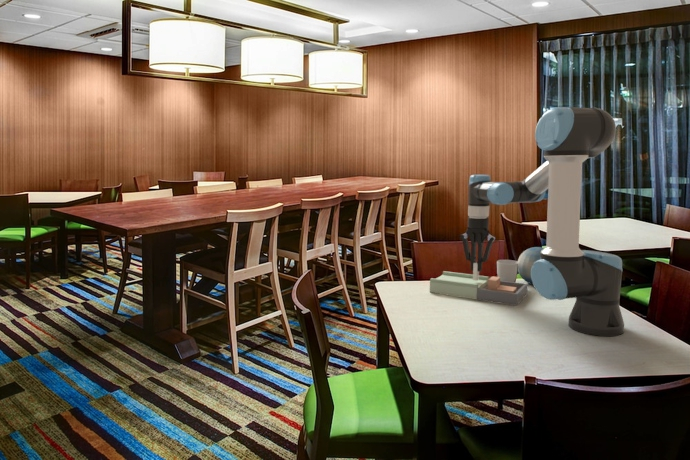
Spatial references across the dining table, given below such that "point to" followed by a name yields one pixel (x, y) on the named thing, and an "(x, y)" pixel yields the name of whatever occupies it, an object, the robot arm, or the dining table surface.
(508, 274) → the cup
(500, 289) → the tile front
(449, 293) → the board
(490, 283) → the tile rear
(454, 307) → the dining table surface
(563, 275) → the robot arm
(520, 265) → the decorative ball
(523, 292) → the tray
